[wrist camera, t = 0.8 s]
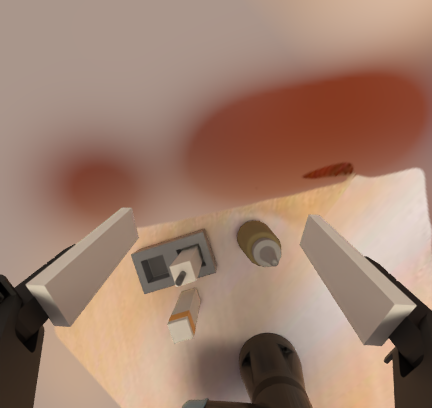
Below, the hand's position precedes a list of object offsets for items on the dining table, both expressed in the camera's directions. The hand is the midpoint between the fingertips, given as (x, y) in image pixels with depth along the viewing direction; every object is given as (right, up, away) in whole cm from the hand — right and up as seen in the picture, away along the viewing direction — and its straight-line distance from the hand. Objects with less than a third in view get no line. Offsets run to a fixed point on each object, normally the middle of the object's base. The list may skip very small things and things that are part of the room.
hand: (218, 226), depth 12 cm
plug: (-7, -23, +30) cm, 38 cm away
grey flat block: (-10, -12, +30) cm, 34 cm away
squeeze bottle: (+9, -6, +29) cm, 31 cm away
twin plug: (-6, -11, +29) cm, 31 cm away
